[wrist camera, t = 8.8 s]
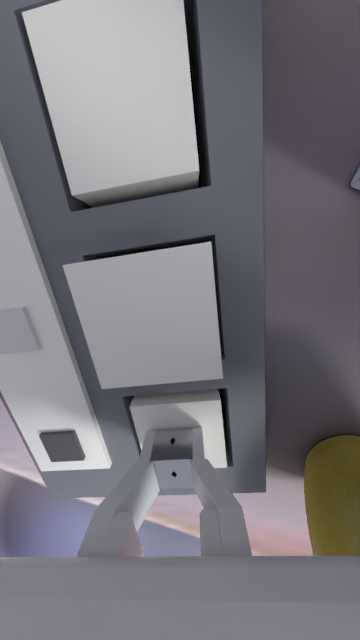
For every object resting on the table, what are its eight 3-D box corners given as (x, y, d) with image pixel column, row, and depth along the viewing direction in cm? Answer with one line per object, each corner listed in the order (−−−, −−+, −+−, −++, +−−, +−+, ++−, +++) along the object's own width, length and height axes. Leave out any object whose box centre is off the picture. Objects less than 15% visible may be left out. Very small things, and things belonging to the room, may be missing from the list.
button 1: (184, 74, 8) (180, -37, 5) (196, 199, 9) (199, 170, 6) (81, 100, 8) (21, 12, 5) (107, 215, 9) (71, 195, 7)
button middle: (203, 248, 8) (211, 241, 5) (213, 343, 9) (223, 378, 7) (105, 264, 9) (62, 265, 6) (127, 352, 10) (101, 389, 7)
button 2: (213, 366, 12) (220, 400, 9) (219, 422, 13) (227, 467, 10) (143, 372, 12) (129, 406, 9) (156, 426, 14) (146, 470, 11)
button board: (231, -26, 7) (269, -290, 4) (250, 445, 14) (269, 502, 11) (-82, 66, 8) (-264, -66, 5) (78, 454, 15) (46, 507, 12)
